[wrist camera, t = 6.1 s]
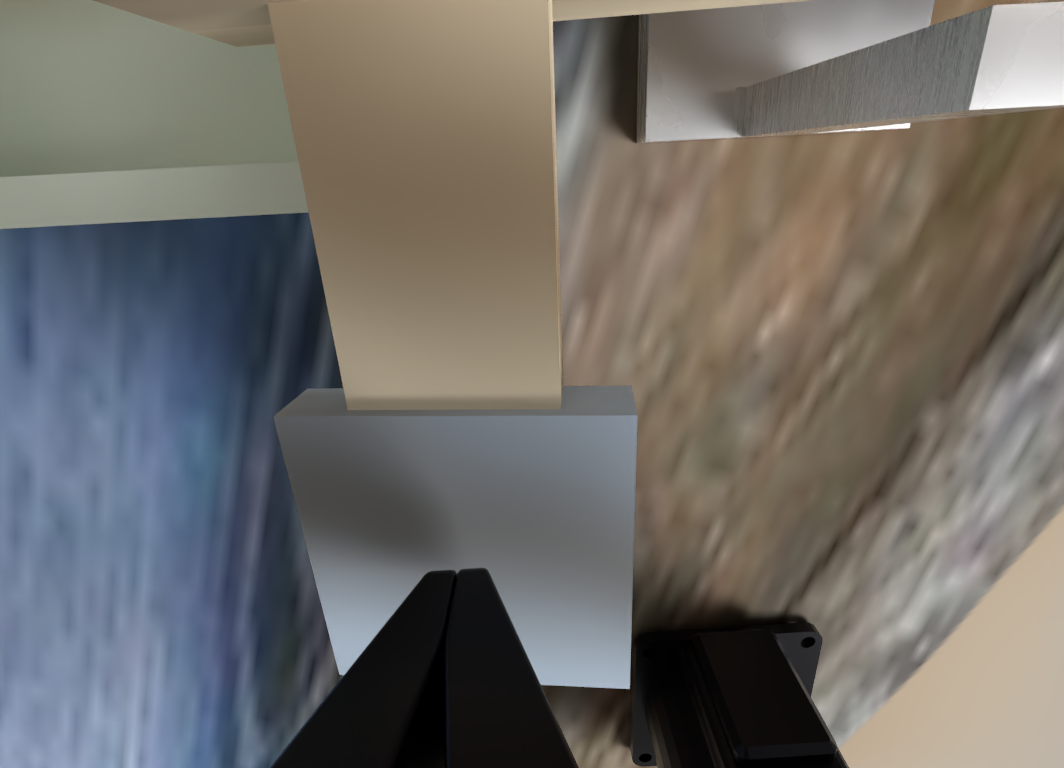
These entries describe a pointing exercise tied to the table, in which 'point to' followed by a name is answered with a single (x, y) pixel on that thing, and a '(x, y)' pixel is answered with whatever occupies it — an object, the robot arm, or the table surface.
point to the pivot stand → (841, 67)
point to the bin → (136, 121)
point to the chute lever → (446, 321)
